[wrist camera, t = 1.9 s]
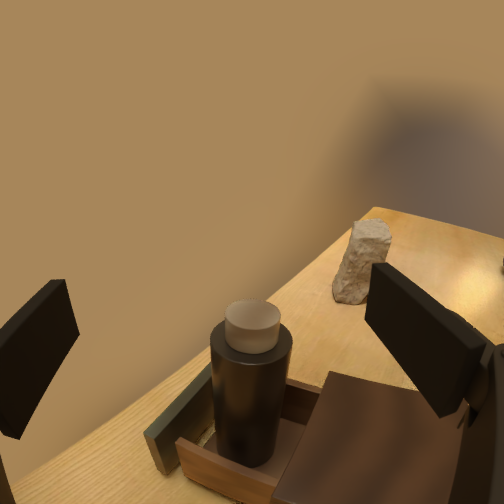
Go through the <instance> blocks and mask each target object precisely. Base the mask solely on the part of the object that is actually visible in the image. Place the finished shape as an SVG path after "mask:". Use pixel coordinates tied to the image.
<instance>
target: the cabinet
mask: <svg viewBox="0 0 504 504" xmlns="http://www.w3.org/2000/svg"><path fill="white" fill-rule="evenodd" d="M467 407H468V403H467V401H466V400H465V399H463V401H462V403H461V405H460V407H459V408H458V410H457V412H455V413H453V414H450V415H448V416H446V417H443V418H440V419H439V417H438V416H437V415H436V413H435V412H434V410H433V409H432V408H431V406H430V405H429V404H428V402H427V401H426V399H425V398H424V397H423V395H422V394H421V393H420V391H415V390H410V389H405V388H400V387H395V386H391V385H386V384H382V383H377V382H373V381H368V380H364V379H360V378H356V377H352V376H348V375H344V374H340V373H336V372H333V371H329V373H328V375H327V378H326V381H325V383H324V385H323V388H322V390H321V393H320V395H319V398H318V400H317V402H316V405H315V407H314V409H313V412H312V414H311V416H310V418H309V421H308V423H307V425H306V427H305V429H304V432H303V434H302V436H301V438H300V440H299V442H298V444H297V447H296V449H295V451H294V453H293V455H292V457H291V459H290V461H289V463H288V465H287V467H286V469H285V471H284V473H283V475H282V477H281V478H280V480H279V482H278V484H277V486H276V488H275V490H274V492H273V493H272V495H271V498H270V501H269V504H448V501H449V497H450V493H451V489H452V485H453V481H454V476H455V472H456V467H457V462H458V457H459V451H460V446H461V439H462V433H463V425H464V423H463V424H462V425H461V427H460V428H459V429H457V426H458V424H459V422H460V420H461V418H462V416H463V415H464V413H465V411H466V409H467Z"/></svg>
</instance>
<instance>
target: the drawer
mask: <svg viewBox="0 0 504 504" xmlns="http://www.w3.org/2000/svg"><path fill="white" fill-rule="evenodd" d="M321 390H322V388H319V387H316V386H312V385H309V384H305V383H302V382H299V381H295V380H292V379H289V378H287V382H286V388H285V394H284V400H283V406H282V411H281V417H280V422H279V427H278V433H277V438H276V443H275V448H274V452H273V455H272V456H271V458H270V459H269V460H268V461H267V462H266V463H264V464H263V465H261V466H258V467H255V468H248V467H245V466H243V465H240V464H238V463H236V462H233V461H231V460H228V459H226V458H224V457H222V456H220V455H219V454H218V452H217V447H216V434H215V432H214V434H213V435H212V436H211V438H210V439H209V440H208V442H207V443H206V444H205V445H204V447H203V448H202V447H200V446H198V445H196V444H194V443H195V442H196V440H197V439H198V438H199V437H200V435H201V434H202V433H203V432H204V430H205V429H206V428H207V427H208V425H209V424H210V423H211V421H212V420H213V419H214V404H213V387H212V369H211V362H210V363H209V364H208V365H207V366H206V367H205V368H204V369H203V370H202V371H201V373H200V374H199V375H198V376H197V377H196V378H195V379H194V380H193V381H192V382H191V383H190V384H189V385H188V386H187V387H186V389H185V390H184V391H183V392H182V393H181V394H180V395H179V396H178V397H177V398H176V399H175V400H174V401H173V402H172V403H171V404H170V405H169V406H168V407H167V408H166V410H165V411H164V412H163V413H162V414H161V415H160V416H159V417H158V418H157V419H156V420H155V421H154V422H153V423H152V424H151V425H150V426H149V427H148V428H147V429H146V430H145V431H144V432H143V434H144V437H145V439H146V442H147V445H148V447H149V450H150V452H151V455H152V457H153V460H154V462H155V465H156V467H157V469H158V470H159V471H161V472H162V473H164V474H166V475H168V474H169V473H170V472H171V471H172V469H173V468H174V467H175V466H176V465H177V463H178V462H179V461H180V463H181V466H182V470H183V473H184V476H186V477H188V478H190V479H192V480H194V481H196V482H198V483H200V484H202V485H204V486H206V487H208V488H210V489H212V490H215V491H217V492H219V493H221V494H223V495H226V496H228V497H230V498H233V499H235V500H237V501H240V502H242V503H245V504H269V501H270V498H271V495H272V493H273V492H274V490H275V488H276V486H277V484H278V482H279V480H280V478H281V477H282V475H283V473H284V471H285V469H286V467H287V465H288V463H289V461H290V459H291V457H292V455H293V453H294V451H295V449H296V447H297V444H298V442H299V440H300V438H301V436H302V434H303V432H304V429H305V427H306V425H307V423H308V421H309V418H310V416H311V414H312V412H313V409H314V407H315V405H316V402H317V400H318V398H319V395H320V393H321Z"/></svg>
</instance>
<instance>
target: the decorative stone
mask: <svg viewBox="0 0 504 504" xmlns="http://www.w3.org/2000/svg"><path fill="white" fill-rule="evenodd" d="M391 238H392V236H391V234H390V231H389V226H387V224H386V223H385V222H384V221H382V220H381V219H380V218H375V219H368V220H362V221H354V222H353V225H352V232H351V236H350V239H349V244H348V247H347V249H346V252H345V254H344V256H343V260H342V262H341V264H340V268H339V271H338V273H337V274H336V276H335V278H334V281H333V285H332V286H333V293H334V297H335V300H336V301H337V302H342V303H345V304H351V305H354V304H355V305H357V304H359V303H361V302H362V300H363V299H364V298H365V297H366V296H367V295H368V292H369V284H370V276H371V268H372V263H385V259H386V256H387V253H388V250H389V247H390V244H391Z"/></svg>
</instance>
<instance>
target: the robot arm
mask: <svg viewBox="0 0 504 504" xmlns="http://www.w3.org/2000/svg"><path fill="white" fill-rule="evenodd" d="M364 320H365V321H366V322H367V323H368V325H369V326H370V327H371V329H372V330H373V331H374V332H375V334H376V335H377V336H378V337H379V339H380V340H381V341H382V343H383V344H384V345H385V346H386V348H387V349H388V350H389V352H390V353H391V354H392V356H393V357H394V358H395V359H396V361H397V362H398V363H399V365H400V366H401V367H402V369H403V370H404V371H405V373H406V374H407V375H408V377H409V378H410V379H411V381H412V382H413V383H414V385H415V386H416V387H417V389H418V390H419V391H420V393H421V394H422V395H423V397H424V398H425V399H426V401H427V402H428V404H429V405H430V406H431V408H432V409H433V410H434V412H435V413H436V415H437V416H438V417H439V419H440V418H443V417H446V416H448V415H450V414H453V413H455V412H457V410H458V408H459V407H460V405H461V403H462V401H463V398H464V399H465V400H466V401H467V403H468V404H469V405H468V407H467V409H466V411H465V413H464V415H463V416H462V418H461V420H460V422H459V424H458V426H457V429H459V428H460V427H461V425H462V424H463V423H464V425H463V433H462V439H461V446H460V451H459V457H458V462H457V467H456V472H455V476H454V481H453V485H452V489H451V493H450V497H449V501H448V504H504V344H499V345H497V346H495V345H494V344H493V343H492V342H491V341H490V340H489V339H487V338H486V337H485V336H484V335H483V334H482V333H480V332H479V331H478V330H477V329H476V328H473V326H472V325H471V324H470V323H468V322H466V320H465V319H464V318H462V317H461V316H460V315H459V314H457V313H455V312H453V311H451V310H449V309H447V308H445V307H444V306H443V305H441V304H440V303H439V302H438V301H436V300H435V299H434V298H433V297H431V296H430V295H429V294H428V293H426V292H425V291H424V290H423V289H421V288H420V287H419V286H417V285H416V284H415V283H414V282H412V281H411V280H410V279H408V278H407V277H406V276H404V275H403V274H402V273H401V272H399V271H398V270H397V269H395V268H394V267H393V266H391V265H390V264H389V263H387V262H386V263H372V268H371V276H370V284H369V292H368V299H367V306H366V313H365V319H364ZM79 335H80V333H79V330H78V327H77V323H76V320H75V317H74V313H73V309H72V306H71V302H70V298H69V294H68V290H67V286H66V282H65V279H60V280H59V279H57V280H50V281H49V282H48V283H47V284H46V285H45V286H44V287H43V288H41V289H40V290H39V291H38V292H37V293H36V294H35V295H34V296H33V297H32V298H31V299H30V300H29V301H28V302H27V303H26V304H25V305H24V306H23V307H22V308H21V309H19V310H18V312H17V313H15V314H14V315H13V316H12V317H11V318H10V319H9V321H7V322H6V324H4V326H3V327H2V328H1V329H0V431H1V432H2V433H3V435H5V436H8V437H11V438H14V439H18V440H20V438H21V436H22V434H23V432H24V430H25V428H26V426H27V424H28V422H29V420H30V418H31V416H32V415H33V413H34V411H35V409H36V407H37V405H38V403H39V402H40V400H41V398H42V396H43V395H44V393H45V391H46V389H47V387H48V386H49V384H50V382H51V381H52V379H53V377H54V375H55V374H56V372H57V370H58V369H59V367H60V365H61V364H62V362H63V360H64V359H65V357H66V355H67V354H68V352H69V351H70V349H71V347H72V346H73V344H74V343H75V341H76V340H77V338H78V336H79ZM0 504H16V503H15V500H14V498H13V495H12V492H11V489H10V486H9V483H8V480H7V477H6V473H5V470H4V466H3V463H2V459H1V456H0Z"/></svg>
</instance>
